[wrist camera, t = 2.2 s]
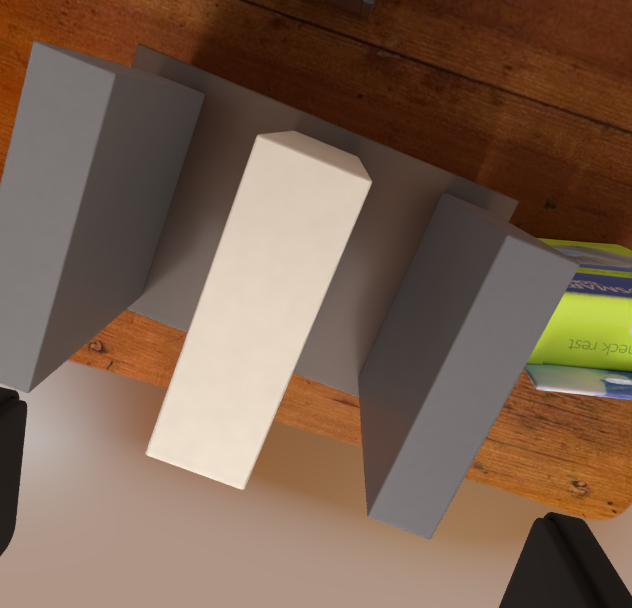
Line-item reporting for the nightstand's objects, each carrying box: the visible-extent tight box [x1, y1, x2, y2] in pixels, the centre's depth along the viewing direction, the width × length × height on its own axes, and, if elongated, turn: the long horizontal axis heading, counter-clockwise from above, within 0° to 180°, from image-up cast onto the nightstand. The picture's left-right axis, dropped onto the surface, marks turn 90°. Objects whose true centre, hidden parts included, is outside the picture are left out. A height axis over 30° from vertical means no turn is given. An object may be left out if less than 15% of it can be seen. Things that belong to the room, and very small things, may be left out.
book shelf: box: [126, 44, 519, 398], centre depth 35 cm, size 20×13×10 cm, turn 68°
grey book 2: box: [358, 193, 580, 539], centre depth 25 cm, size 2×11×12 cm, turn 159°
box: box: [524, 238, 632, 400], centre depth 32 cm, size 10×4×17 cm, turn 86°
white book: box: [146, 131, 372, 490], centre depth 24 cm, size 4×11×13 cm, turn 158°
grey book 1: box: [0, 41, 205, 393], centre depth 24 cm, size 2×11×12 cm, turn 159°
